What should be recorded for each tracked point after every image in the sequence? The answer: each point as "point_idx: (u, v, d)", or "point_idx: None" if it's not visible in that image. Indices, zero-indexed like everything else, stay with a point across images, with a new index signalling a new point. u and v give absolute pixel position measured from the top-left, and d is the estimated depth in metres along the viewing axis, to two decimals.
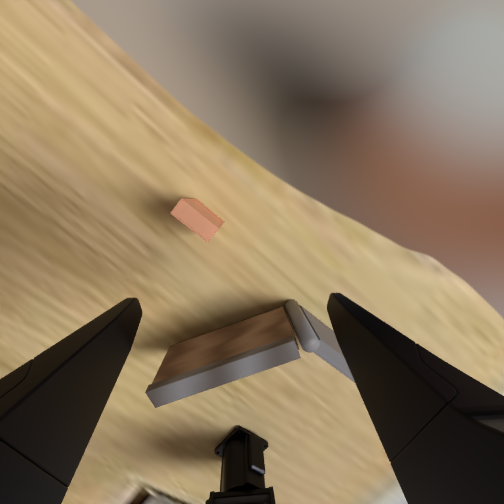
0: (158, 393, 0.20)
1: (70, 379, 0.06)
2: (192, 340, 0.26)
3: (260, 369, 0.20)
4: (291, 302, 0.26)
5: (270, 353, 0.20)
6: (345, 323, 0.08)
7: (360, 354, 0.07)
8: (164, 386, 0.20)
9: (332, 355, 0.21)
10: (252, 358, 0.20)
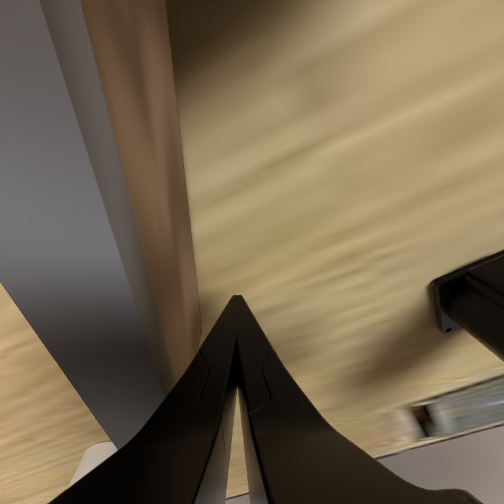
0: None
1: (233, 371, 0.06)
2: None
3: (71, 162, 0.03)
4: None
5: None
6: None
7: None
8: (119, 447, 0.07)
9: None
10: None
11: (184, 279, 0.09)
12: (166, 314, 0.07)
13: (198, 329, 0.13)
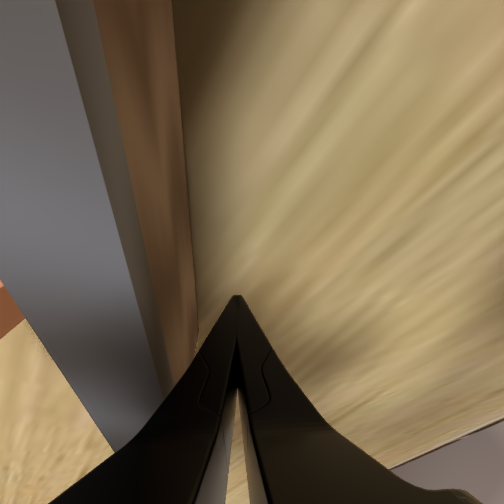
0: None
1: (233, 371, 0.06)
2: None
3: (80, 161, 0.03)
4: None
5: None
6: None
7: None
8: (115, 448, 0.07)
9: None
10: None
11: (183, 279, 0.09)
12: (165, 314, 0.07)
13: (195, 329, 0.13)
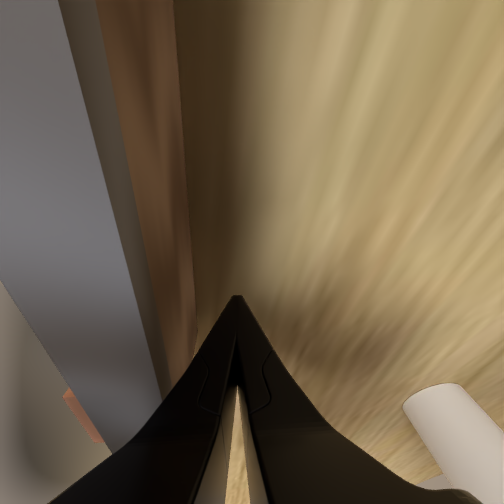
0: None
1: (232, 371, 0.06)
2: None
3: (80, 161, 0.03)
4: None
5: None
6: None
7: None
8: (112, 449, 0.07)
9: None
10: None
11: (182, 279, 0.09)
12: (164, 315, 0.07)
13: (194, 330, 0.13)
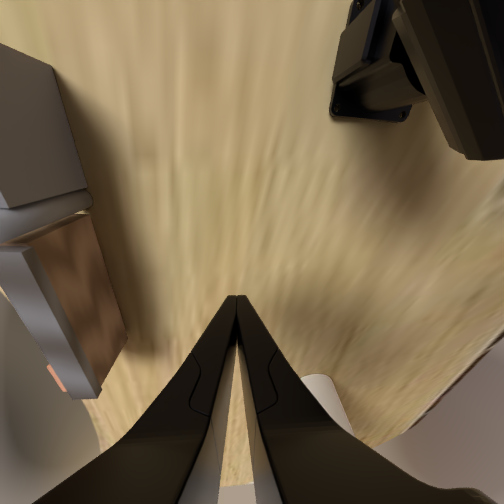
0: (76, 392, 0.18)
1: (225, 372, 0.06)
2: None
3: (45, 307, 0.14)
4: None
5: (10, 288, 0.13)
6: (237, 327, 0.08)
7: (241, 359, 0.07)
8: (65, 387, 0.18)
9: None
10: (20, 309, 0.14)
11: (103, 315, 0.20)
12: (85, 333, 0.17)
13: (122, 338, 0.24)
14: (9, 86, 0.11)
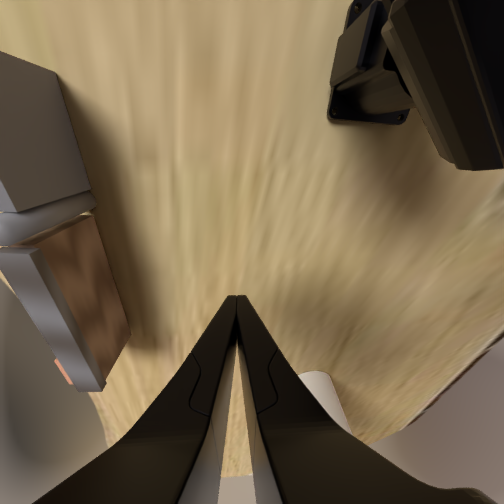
0: (82, 385, 0.19)
1: (225, 372, 0.06)
2: None
3: (52, 305, 0.14)
4: None
5: (19, 287, 0.13)
6: (237, 327, 0.08)
7: (241, 359, 0.07)
8: (72, 380, 0.19)
9: None
10: (29, 307, 0.14)
11: (107, 312, 0.21)
12: (90, 330, 0.18)
13: (125, 334, 0.24)
14: (15, 94, 0.12)
